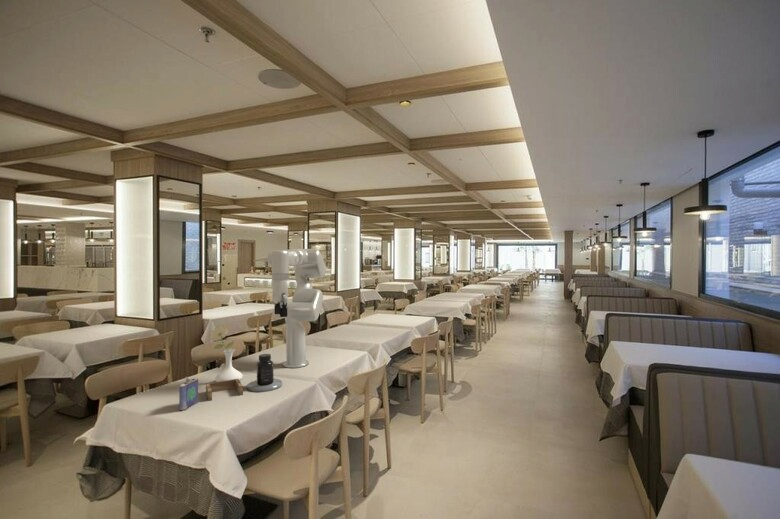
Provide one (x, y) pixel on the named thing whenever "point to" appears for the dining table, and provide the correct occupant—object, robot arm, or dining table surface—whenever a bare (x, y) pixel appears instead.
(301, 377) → the dining table surface
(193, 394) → the flask
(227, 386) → the brown wooden arch piece
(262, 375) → the supplement bottle
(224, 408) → the dining table surface
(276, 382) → the plate
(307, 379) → the dining table surface
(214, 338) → the flower in vase
